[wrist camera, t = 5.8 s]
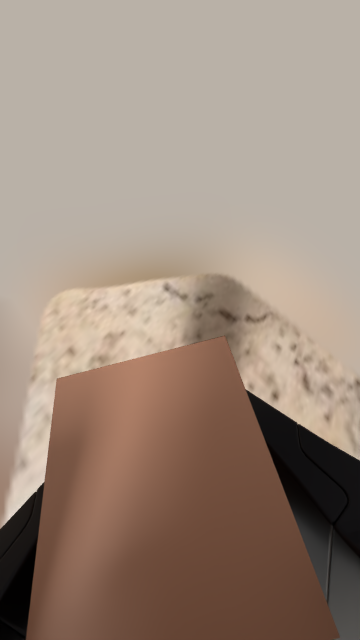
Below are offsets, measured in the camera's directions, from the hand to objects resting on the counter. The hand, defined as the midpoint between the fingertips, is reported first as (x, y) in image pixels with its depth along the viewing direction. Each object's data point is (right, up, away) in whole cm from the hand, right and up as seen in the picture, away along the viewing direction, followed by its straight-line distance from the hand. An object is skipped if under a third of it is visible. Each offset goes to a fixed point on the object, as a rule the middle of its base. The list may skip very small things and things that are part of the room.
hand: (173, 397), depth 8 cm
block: (+1, -4, +5) cm, 7 cm away
